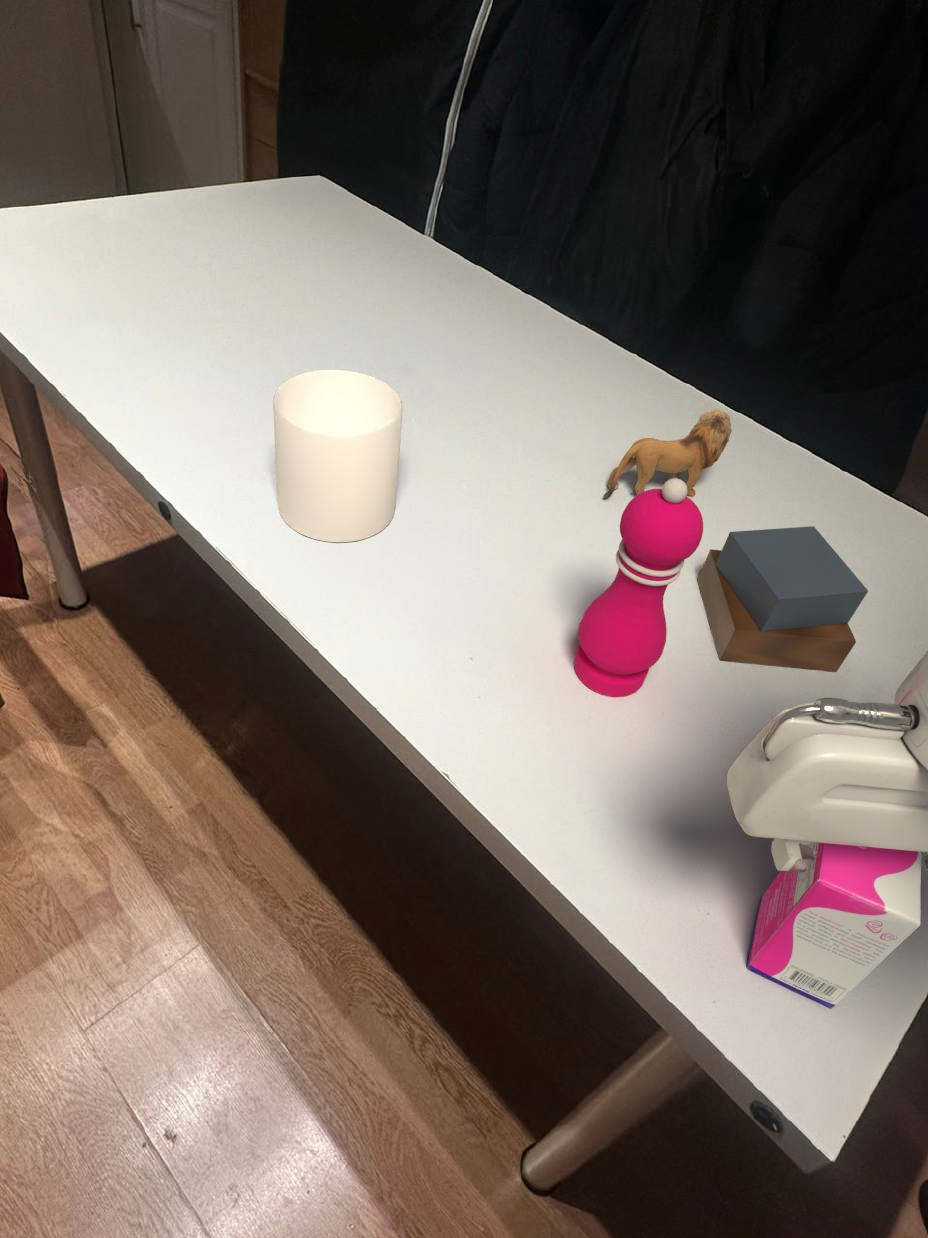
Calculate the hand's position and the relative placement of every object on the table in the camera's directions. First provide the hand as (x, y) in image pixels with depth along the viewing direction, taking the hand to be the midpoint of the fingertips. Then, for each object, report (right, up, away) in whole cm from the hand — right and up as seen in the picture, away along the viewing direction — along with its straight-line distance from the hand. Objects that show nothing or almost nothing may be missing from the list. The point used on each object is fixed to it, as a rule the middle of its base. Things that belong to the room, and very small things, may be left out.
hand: (863, 867), depth 48 cm
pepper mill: (-11, +10, +24) cm, 28 cm away
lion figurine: (-1, +29, +46) cm, 54 cm away
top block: (+6, +17, +28) cm, 33 cm away
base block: (+6, +14, +31) cm, 34 cm away
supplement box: (-1, -8, +8) cm, 11 cm away
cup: (-36, +26, +36) cm, 57 cm away
